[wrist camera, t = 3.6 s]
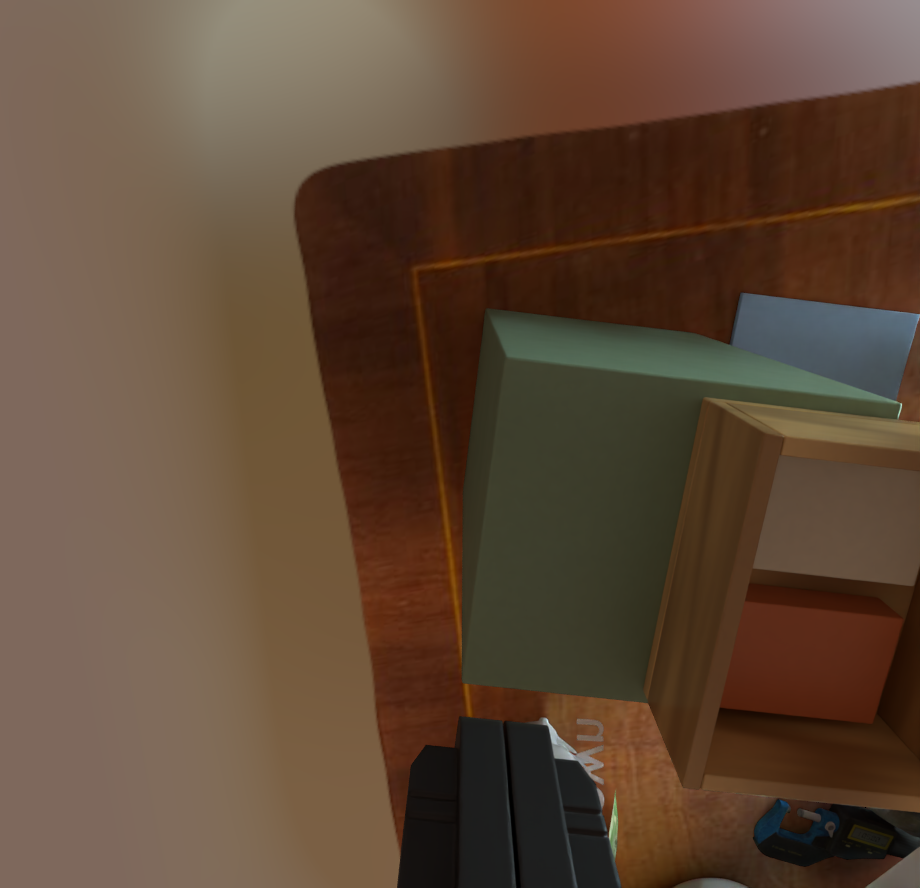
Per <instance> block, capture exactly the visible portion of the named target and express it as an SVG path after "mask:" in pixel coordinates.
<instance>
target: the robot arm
mask: <svg viewBox="0 0 920 888" xmlns="http://www.w3.org/2000/svg"><path fill="white" fill-rule="evenodd" d="M607 834H608V831H607V827H606V823H605V819H604V816H603V815H602V807H601V803H600V799H599V795H598V791H597V787H596V784H595V782H594V781H593V780H592V779H591V777H590V776H589V775H588V773H587V772H586V771H585V769H584V768H583V767H582V765H581V764H580V763H579V761H576V760H567V759H557V758H554V753H553V748H552V742H551V736H550V731H549V727H548V726H547V725H539V724H530V723H521V722H511V721H504V724H503V723H502V721H500V720H490V719H481V718H472V717H462V716H460V717H459V720H458V726H457V734H456V741H455V748H450V747H441V746H431V745H425V747H424V748H423V750H422V751H421V752H420V754H419V755H418V756H417V758H416V759H415V760H414V762H413V763H412V765H411V769H410V778H409V787H408V795H407V804H406V812H405V821H404V829H403V838H402V847H401V856H400V867H399V875H398V884H397V888H621V884H620V880H619V876H618V872H617V867H616V863H615V859H614V855H613V851H612V847H611V843H610V839H609V838H608V835H607Z"/></svg>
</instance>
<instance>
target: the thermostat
mask: <svg viewBox="0 0 920 888" xmlns="http://www.w3.org/2000/svg"><path fill="white" fill-rule="evenodd" d="M865 888H920V847H919V848H917V849H916V850H915V851H913V852H912V853H911V854H909V855H908V856H907V857H905V858H904V859H903V860H901V861H900V862H899V863H897V864H896V865H895V866H893V867H892V868H891V869H889V870H888V871H887V872H885V873H884V874H883V875H881V876H880V877H879V878H877V879H876V880H875V881H873V882H872V883H871V884H869V885H868V886H867V887H865Z"/></svg>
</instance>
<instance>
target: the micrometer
mask: <svg viewBox="0 0 920 888" xmlns="http://www.w3.org/2000/svg"><path fill="white" fill-rule="evenodd" d="M790 811H791V807H790V805H788V803H787V802H786V801H782V800H779V799H778V800H777V801H776V803H775V805H774V807H773V808H772V809H771V810H770V811H769V812H767V813H766V814H765V815H764V816H763V817H762V818H761V819H760V820H759V821H758V822H757V824H756V826H755V829H754V835H755V837H753V839H754V841H755V843H756V845H757V847H758V849H759V850H760V851H761V852H762V853H763V854H764V855H766V856H768V857H771V858H775V859H778V860H782V861H785V862H789V863H792V864H795V865H799V866H804V867H805V866H810V865H812V864H814V863H817V862H819V861H821V860H824V859H826V858H830V857H834V856H836V857H839V858H843V859H846V860H849V859H884V858H885V856H886V854H889V855H893V856H897V857H901V858H905V857H907V856H908V855H909V854H911V853H912V852H913V851H915V850H916V849H917V848H919V847H920V838H919V837H916V836H913V835H910V834H908V833H906V832H904V831H902V830H901V829H899V828H897V827H895V826H893V825H892V824H890V823H889V822H887V821H886V820H884V819H883V818H881V817H880V816H878V815H877V814H876V813H874V812H873V811H872V810H868V809H865V808H862V807H859V806H852V805H842V804H832V806H831V808H830V810H829V811H828V810H825V809H822V808H818V809H817V810H816V811H815V813H813V812H810V811H807V810H804V809H800V808H799V809H798V810H797V815H798V816H800V817H803V818H806V819H809V820H813V824H812V826H811V828H810V830H809V831H808V832H807V833H805V834H797V833H794V832H790V831H787V830H784V829H781V828H779V827H780V824H781V822H782V820H783V818H784V816H785V814H786V812H787V813H790Z"/></svg>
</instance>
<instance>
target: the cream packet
mask: <svg viewBox="0 0 920 888" xmlns="http://www.w3.org/2000/svg"><path fill="white" fill-rule="evenodd" d="M919 567H920V471H912V470H903V469H894V468H886V467H877V466H868V465H860V464H851V463H842V462H834V461H825V460H816V459H808V458H799V457H790V456H782V455H779V459H778V463H777V468H776V472H775V476H774V480H773V484H772V489H771V493H770V497H769V501H768V505H767V510H766V514H765V518H764V522H763V527H762V531H761V535H760V539H759V543H758V548H757V552H756V556H755V560H754V564H753V569H762V570H771V571H780V572H788V573H797V574H806V575H815V576H824V577H833V578H842V579H851V580H860V581H869V582H878V583H887V584H896V585H905V586H914V584H915V581H916V577H917V574H918V571H919Z"/></svg>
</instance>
